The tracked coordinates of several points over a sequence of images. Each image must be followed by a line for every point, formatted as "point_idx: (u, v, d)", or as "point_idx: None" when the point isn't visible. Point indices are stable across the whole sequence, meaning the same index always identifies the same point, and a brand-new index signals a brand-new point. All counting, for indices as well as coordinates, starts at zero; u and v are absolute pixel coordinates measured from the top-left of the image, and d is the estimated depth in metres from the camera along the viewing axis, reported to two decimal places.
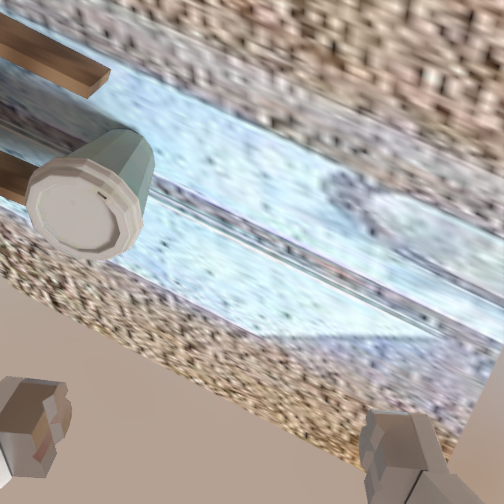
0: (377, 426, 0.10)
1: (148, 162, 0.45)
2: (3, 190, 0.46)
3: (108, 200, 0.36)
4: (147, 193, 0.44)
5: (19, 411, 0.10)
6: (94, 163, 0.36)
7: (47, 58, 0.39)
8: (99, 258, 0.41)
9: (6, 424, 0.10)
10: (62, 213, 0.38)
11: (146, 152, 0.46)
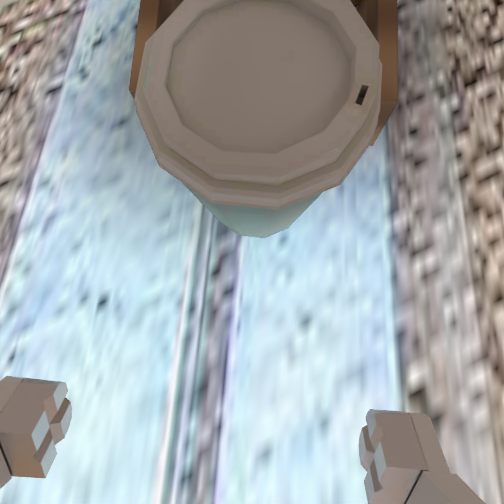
0: (377, 426, 0.10)
1: None
2: (153, 8, 0.27)
3: (356, 109, 0.16)
4: (272, 222, 0.23)
5: (19, 411, 0.10)
6: None
7: None
8: (167, 130, 0.16)
9: (6, 424, 0.10)
10: (251, 42, 0.18)
11: None
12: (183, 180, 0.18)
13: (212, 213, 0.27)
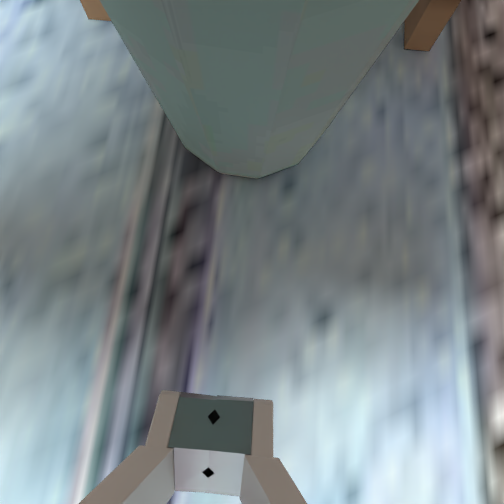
0: (216, 412, 0.10)
1: (320, 130, 0.15)
2: None
3: None
4: (283, 107, 0.11)
5: (189, 426, 0.10)
6: None
7: None
8: None
9: (181, 440, 0.10)
10: None
11: (321, 132, 0.16)
12: None
13: (171, 121, 0.15)
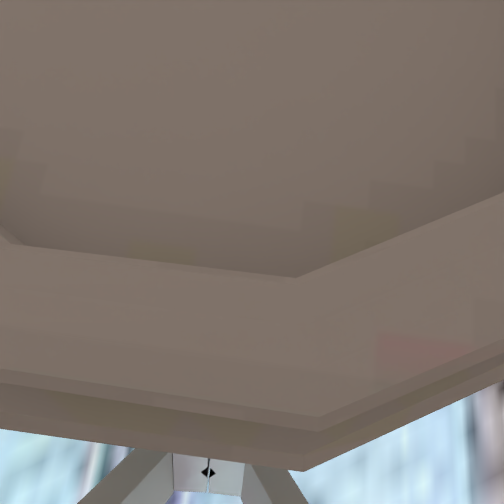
0: None
1: None
2: None
3: None
4: None
5: None
6: None
7: None
8: None
9: None
10: None
11: None
12: None
13: None
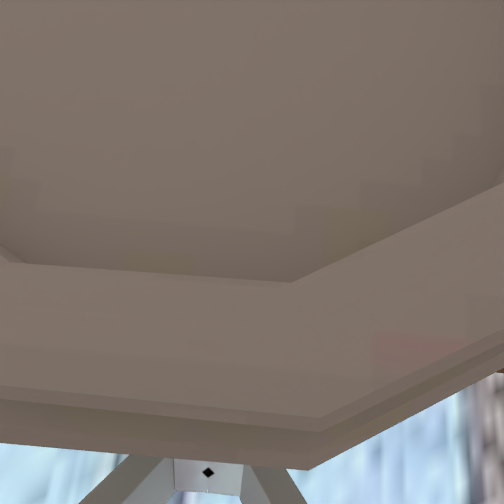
0: None
1: None
2: None
3: None
4: None
5: None
6: None
7: None
8: None
9: None
10: None
11: None
12: None
13: None
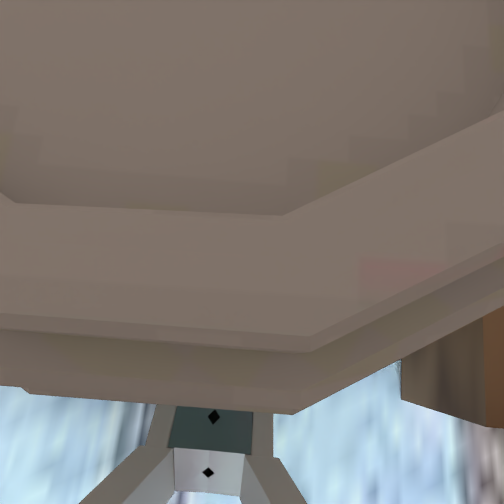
0: (216, 411, 0.10)
1: None
2: None
3: None
4: None
5: (189, 426, 0.10)
6: None
7: None
8: None
9: (181, 440, 0.10)
10: None
11: None
12: None
13: None
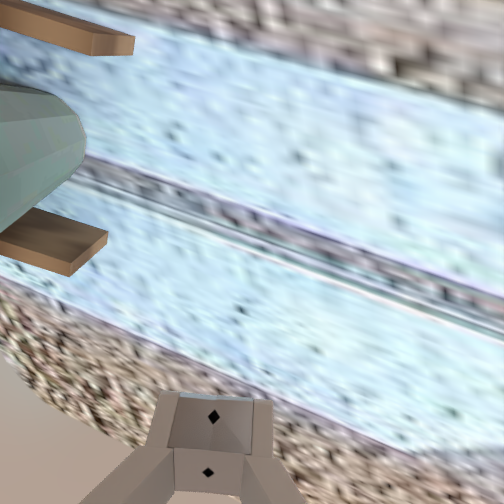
0: (215, 411, 0.10)
1: (52, 116, 0.28)
2: None
3: None
4: (41, 154, 0.26)
5: (189, 426, 0.10)
6: None
7: (32, 10, 0.25)
8: None
9: (181, 440, 0.10)
10: None
11: (54, 108, 0.29)
12: None
13: (54, 189, 0.31)
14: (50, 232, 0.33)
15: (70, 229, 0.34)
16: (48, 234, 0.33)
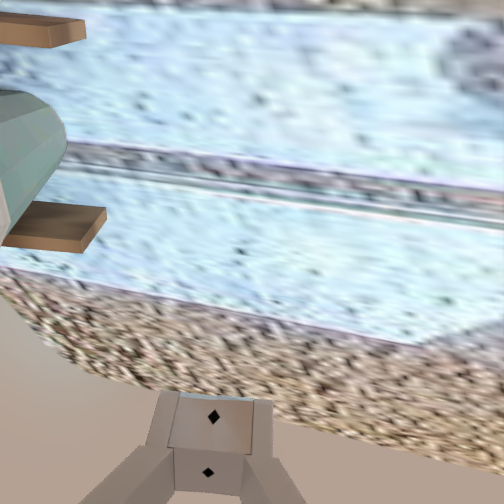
0: (215, 412, 0.10)
1: (29, 112, 0.30)
2: (8, 237, 0.34)
3: None
4: (30, 148, 0.29)
5: (189, 426, 0.10)
6: None
7: None
8: None
9: (181, 440, 0.10)
10: None
11: (29, 104, 0.31)
12: (1, 239, 0.26)
13: (48, 178, 0.34)
14: (54, 219, 0.37)
15: (71, 212, 0.38)
16: (53, 220, 0.36)
